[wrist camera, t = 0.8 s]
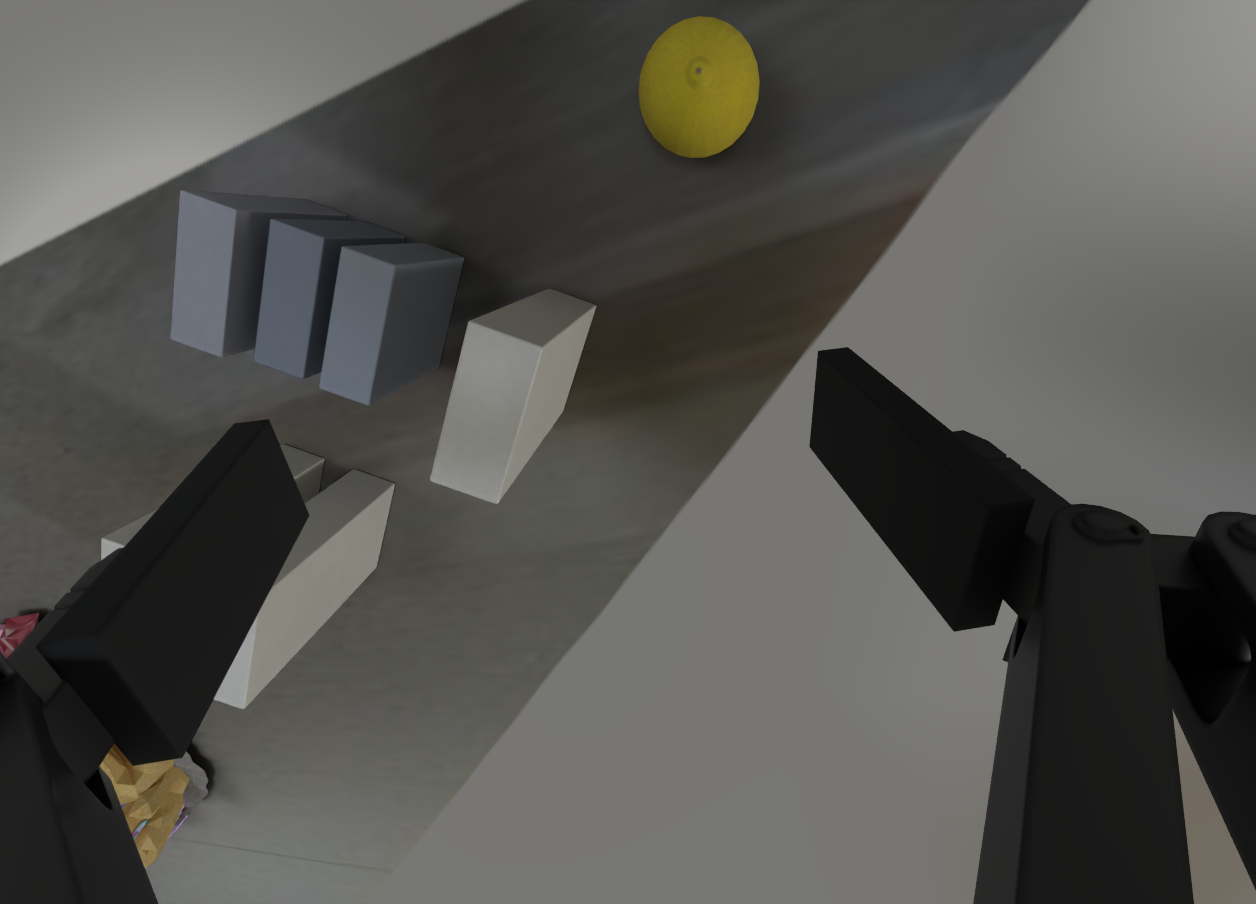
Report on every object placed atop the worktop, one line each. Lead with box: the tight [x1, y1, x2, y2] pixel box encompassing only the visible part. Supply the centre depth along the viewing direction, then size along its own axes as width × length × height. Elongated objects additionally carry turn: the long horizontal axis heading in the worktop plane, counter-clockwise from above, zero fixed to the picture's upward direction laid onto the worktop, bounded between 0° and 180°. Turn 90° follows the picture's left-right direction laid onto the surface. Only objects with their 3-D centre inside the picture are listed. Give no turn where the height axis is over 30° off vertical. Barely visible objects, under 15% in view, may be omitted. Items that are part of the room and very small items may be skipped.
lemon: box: [639, 16, 760, 158], centre depth 29 cm, size 6×6×8 cm
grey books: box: [171, 190, 464, 405], centre depth 33 cm, size 10×7×9 cm
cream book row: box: [101, 444, 395, 709], centre depth 36 cm, size 8×7×14 cm
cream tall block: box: [430, 288, 596, 504], centre depth 31 cm, size 3×7×14 cm, turn 161°
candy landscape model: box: [0, 613, 208, 868], centre depth 48 cm, size 25×24×9 cm
